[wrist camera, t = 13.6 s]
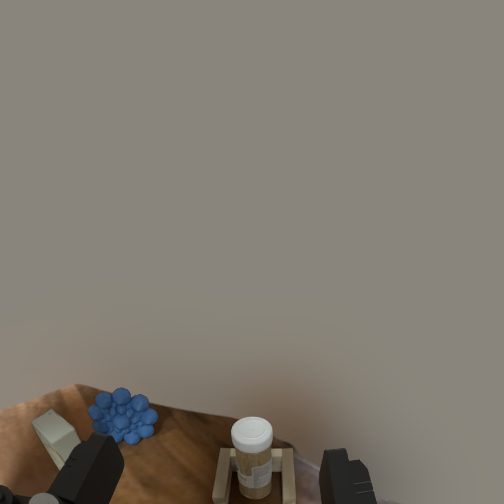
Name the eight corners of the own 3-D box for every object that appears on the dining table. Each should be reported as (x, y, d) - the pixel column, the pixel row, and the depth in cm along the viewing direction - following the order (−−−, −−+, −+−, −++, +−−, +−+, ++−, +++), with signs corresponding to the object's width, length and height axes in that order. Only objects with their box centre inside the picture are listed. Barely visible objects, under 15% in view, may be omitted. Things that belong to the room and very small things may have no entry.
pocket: (215, 510, 30) (212, 497, 29) (223, 463, 38) (220, 447, 37) (293, 511, 29) (295, 498, 28) (291, 463, 38) (292, 448, 37)
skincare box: (62, 475, 31) (28, 421, 28) (80, 461, 35) (51, 406, 32) (86, 497, 28) (50, 444, 25) (105, 481, 32) (75, 427, 29)
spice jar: (233, 482, 35) (224, 422, 31) (263, 472, 36) (260, 410, 33) (247, 505, 31) (241, 448, 27) (278, 493, 32) (280, 433, 29)
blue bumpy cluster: (167, 425, 46) (153, 371, 43) (166, 453, 40) (148, 399, 37) (104, 425, 44) (84, 372, 41) (98, 451, 38) (72, 397, 35)
